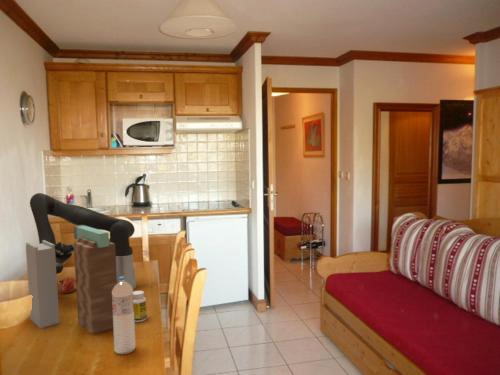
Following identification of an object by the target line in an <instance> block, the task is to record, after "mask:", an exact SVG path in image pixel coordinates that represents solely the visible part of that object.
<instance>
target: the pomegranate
mask: <svg viewBox="0 0 500 375" xmlns="http://www.w3.org/2000/svg"><path fill="white" fill-rule="evenodd" d="M58 283H60V284H59V289H60V291H61V292H63V293H64V294H70V293H71V292H72V291H73V289H74V290H76V279H75V278H74V277H71V276H70V277H65V278H64V279H62V280H59V282H58Z"/></svg>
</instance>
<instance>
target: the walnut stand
mask: <svg viewBox="0 0 500 375" xmlns="http://www.w3.org/2000/svg"><path fill="white" fill-rule="evenodd" d="M73 253H74V254H73V255H74V269H75V271H74V272H75V290H76V291H75V292H76V307H77V308H76V309H77V322H78V325H79V326H81V327H82V328H84V329H85V330H86V331H88V332H89V334H91V335H97V334H100V333H103V332H106V331H109V330H113V306H112V294H111V291H112V289H113V287H114V286H115V285H116V284H117V273H116V252H115V244H114V243H111V242H110V239H109V246H107V247H101V248H99V247H96V243H95V242H93V241H90V240H87V239H84V238H81V237H80V238H79V242H77V241H76V242H74V252H73Z"/></svg>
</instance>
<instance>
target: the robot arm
mask: <svg viewBox="0 0 500 375" xmlns="http://www.w3.org/2000/svg"><path fill="white" fill-rule="evenodd" d="M29 200H30V201H29V206H30V210H31V213H32V216H33V219H34V223H35V227H36V230H37V236H38V241H39V242H38V244H42V240H45V241H47V242H50V243H52V244H54V246H55V257H56V274H60V273H62V272H63V270H64V265H65V264H66V263H67V262H68V261H69V259H70V258H71V257H72V254H73V253H74V243H75V242H74V241H73V242H72V243H71V242H70V243H67V244H65V243H62V242H61V241H58V242H57V241H56V235H55V233H54V230H53V228H52V225H51V224H50V223H51V222H50V220H49V216H54V217H56V218H61V219H62V220H65V221H66V222H69V223H70V224H73V225H74V226H78V225H85V226H88V227H91V228H95V229H98V230H102V231H105V232H109V240H110V242H111V243H114V244H115V252H116V273H117V283H118V282H119V277H121V276H124V277H125V280H124V281H126V282H127V283H129V284H130V285H131V286H132V288H133V290H135V289H136V288H137V283H136V282H137V281H136V269H135V268H134V257H133V256H134V252H133V251H134V250H133V247H132V246H130V238H131V237H133V235H134V234H135V226H134V224H133V223H132V222H131V221H129V220H125V219H122V218H118V217H113V216H108V215H107V214H105V213H101V212H98V211H95V210H93V209H90V208H87V207H84V206H80V205H77V204H76V205H75V204H69V203H65V202H62V201H61V200H58V199H56V198H54V197H52V196H50V195H48V194H46V193H42V192H41V193H40V192H38V193H35V194H33V195H32V196H31V197H30V199H29ZM76 242H79V240H77V241H76Z"/></svg>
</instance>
